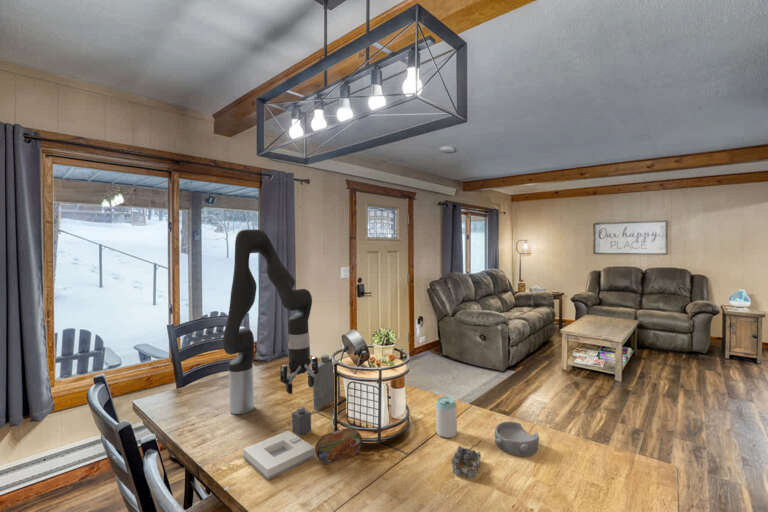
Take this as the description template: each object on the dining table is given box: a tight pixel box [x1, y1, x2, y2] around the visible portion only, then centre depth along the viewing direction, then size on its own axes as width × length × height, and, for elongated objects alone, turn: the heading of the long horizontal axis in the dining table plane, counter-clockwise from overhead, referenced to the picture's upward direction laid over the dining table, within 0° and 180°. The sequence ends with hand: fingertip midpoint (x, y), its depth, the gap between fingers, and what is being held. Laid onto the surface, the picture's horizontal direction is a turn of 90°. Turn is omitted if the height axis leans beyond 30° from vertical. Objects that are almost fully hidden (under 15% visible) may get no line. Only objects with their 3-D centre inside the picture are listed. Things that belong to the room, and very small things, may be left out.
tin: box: [314, 427, 363, 465], centre depth 118 cm, size 15×3×8 cm, turn 117°
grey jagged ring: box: [450, 445, 482, 480], centre depth 111 cm, size 11×8×4 cm
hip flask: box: [312, 354, 341, 411], centre depth 160 cm, size 16×4×20 cm, turn 150°
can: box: [435, 396, 458, 439], centre depth 131 cm, size 7×7×12 cm
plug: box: [291, 406, 312, 437], centre depth 135 cm, size 5×5×9 cm
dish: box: [494, 421, 540, 457], centre depth 122 cm, size 14×14×5 cm
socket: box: [242, 430, 316, 481], centre depth 119 cm, size 16×16×4 cm
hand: (300, 390), depth 135 cm, fingers open, 8 cm apart
